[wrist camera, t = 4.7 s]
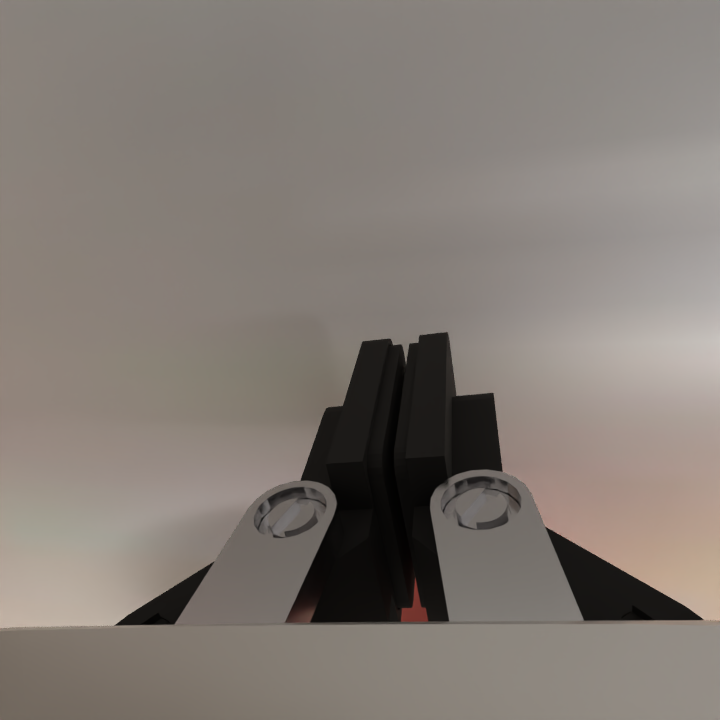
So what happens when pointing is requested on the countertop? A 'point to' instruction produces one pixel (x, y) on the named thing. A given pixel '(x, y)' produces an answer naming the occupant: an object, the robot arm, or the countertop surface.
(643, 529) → the countertop surface
